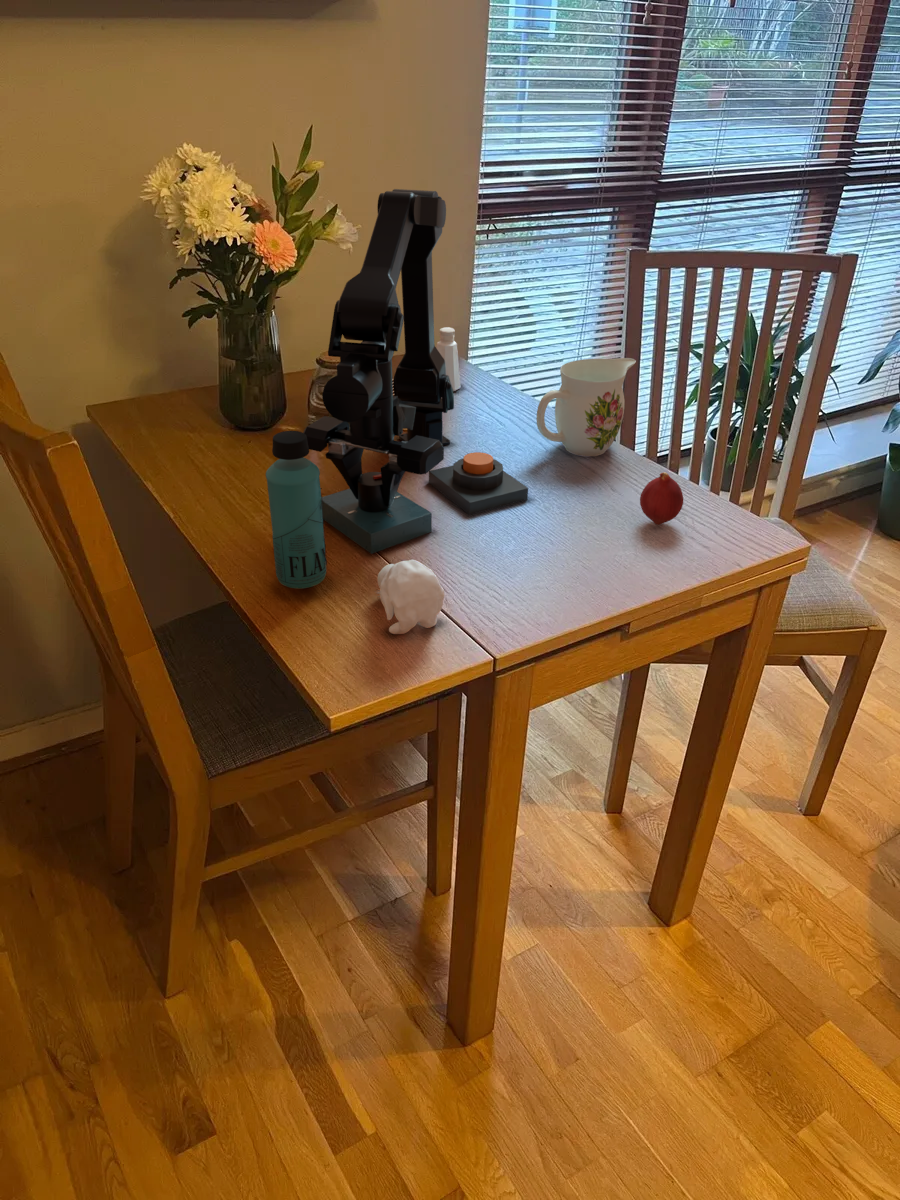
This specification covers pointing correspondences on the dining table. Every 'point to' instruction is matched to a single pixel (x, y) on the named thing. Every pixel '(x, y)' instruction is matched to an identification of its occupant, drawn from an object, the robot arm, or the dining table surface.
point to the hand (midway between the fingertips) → (374, 501)
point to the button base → (478, 487)
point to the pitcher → (587, 405)
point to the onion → (661, 499)
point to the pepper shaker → (449, 355)
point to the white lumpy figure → (410, 595)
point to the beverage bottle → (296, 513)
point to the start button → (478, 463)
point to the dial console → (376, 520)
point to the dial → (371, 492)
